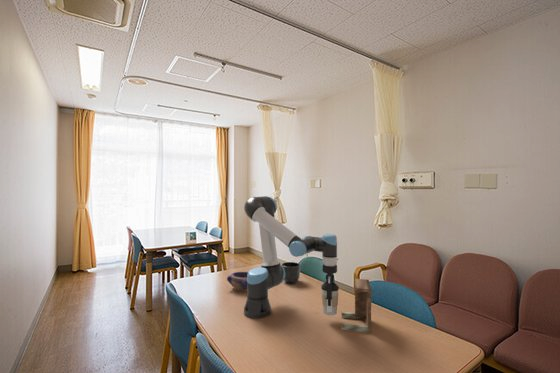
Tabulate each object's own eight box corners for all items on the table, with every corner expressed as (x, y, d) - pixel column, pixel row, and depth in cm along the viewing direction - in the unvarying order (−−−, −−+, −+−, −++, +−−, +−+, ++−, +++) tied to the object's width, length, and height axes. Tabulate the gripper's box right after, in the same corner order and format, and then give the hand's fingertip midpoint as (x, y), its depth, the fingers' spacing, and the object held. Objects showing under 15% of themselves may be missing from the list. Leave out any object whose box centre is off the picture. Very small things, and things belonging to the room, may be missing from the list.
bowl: (261, 286, 196) (261, 272, 196) (244, 295, 181) (244, 279, 181) (241, 282, 206) (241, 268, 206) (224, 289, 191) (224, 275, 191)
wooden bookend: (341, 329, 137) (341, 286, 137) (341, 316, 151) (341, 277, 151) (371, 333, 134) (371, 289, 134) (368, 319, 148) (368, 279, 148)
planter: (300, 285, 199) (300, 267, 199) (281, 285, 199) (281, 267, 199) (299, 278, 213) (299, 262, 213) (281, 278, 213) (281, 261, 213)
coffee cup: (338, 317, 140) (338, 287, 140) (320, 315, 142) (320, 285, 142) (338, 309, 149) (338, 281, 149) (321, 307, 151) (321, 280, 151)
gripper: (336, 270, 134) (336, 317, 134) (337, 259, 155) (337, 300, 155) (320, 269, 136) (321, 316, 136) (323, 258, 157) (324, 299, 157)
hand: (329, 307), depth 146 cm, fingers closed on coffee cup, 8 cm apart
